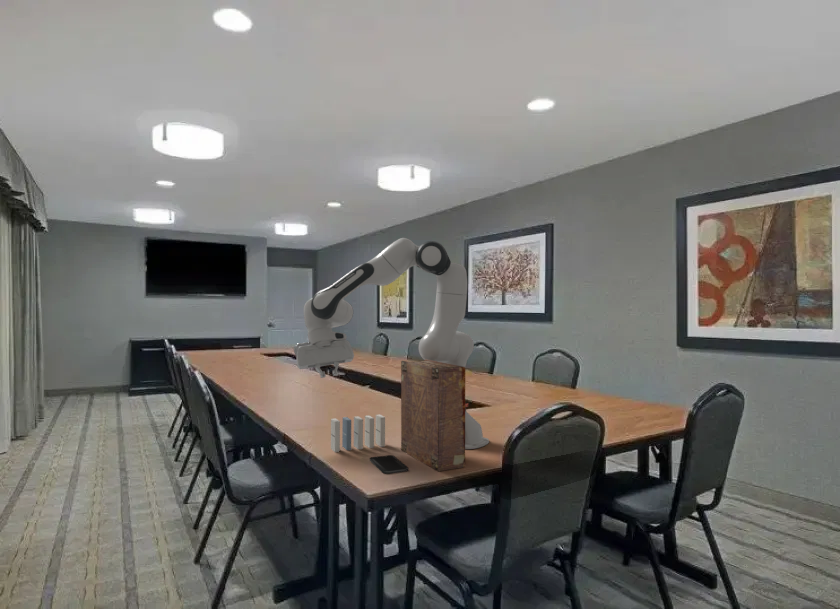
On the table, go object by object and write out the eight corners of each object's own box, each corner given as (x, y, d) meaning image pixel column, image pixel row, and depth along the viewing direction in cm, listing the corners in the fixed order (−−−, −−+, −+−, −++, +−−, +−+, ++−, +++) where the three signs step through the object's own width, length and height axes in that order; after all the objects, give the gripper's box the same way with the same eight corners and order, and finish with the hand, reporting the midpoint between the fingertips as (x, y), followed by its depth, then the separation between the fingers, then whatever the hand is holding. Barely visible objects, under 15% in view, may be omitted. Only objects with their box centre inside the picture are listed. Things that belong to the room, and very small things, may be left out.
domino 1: (335, 448, 172) (335, 418, 172) (339, 451, 167) (339, 421, 167) (330, 448, 171) (331, 418, 171) (334, 452, 167) (335, 421, 167)
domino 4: (369, 444, 177) (369, 415, 177) (374, 447, 172) (374, 418, 173) (364, 444, 176) (364, 415, 176) (369, 448, 172) (369, 418, 172)
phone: (384, 471, 145) (368, 457, 159) (384, 475, 145) (368, 461, 159) (410, 468, 148) (392, 454, 162) (410, 472, 148) (392, 458, 162)
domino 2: (346, 446, 174) (347, 417, 174) (351, 450, 169) (351, 420, 170) (342, 446, 173) (342, 417, 173) (346, 450, 169) (346, 420, 169)
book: (400, 450, 170) (400, 360, 170) (425, 446, 174) (425, 359, 174) (438, 472, 147) (438, 368, 147) (465, 467, 151) (465, 366, 152)
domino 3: (358, 445, 175) (358, 416, 175) (362, 449, 171) (363, 419, 171) (353, 445, 175) (353, 416, 175) (358, 449, 170) (358, 419, 170)
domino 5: (379, 442, 179) (379, 414, 179) (385, 446, 174) (385, 417, 174) (375, 443, 178) (375, 414, 178) (380, 446, 173) (380, 417, 174)
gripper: (293, 340, 177) (301, 377, 171) (350, 333, 185) (358, 368, 180) (291, 347, 182) (298, 384, 176) (346, 340, 190) (354, 374, 185)
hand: (329, 376), depth 178 cm, fingers open, 3 cm apart
